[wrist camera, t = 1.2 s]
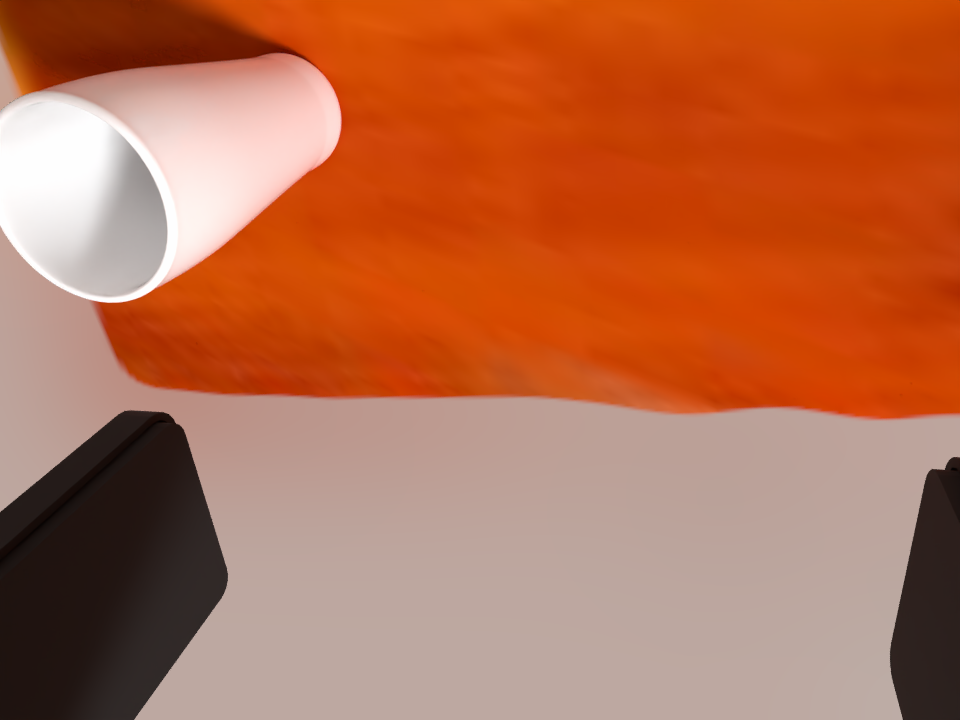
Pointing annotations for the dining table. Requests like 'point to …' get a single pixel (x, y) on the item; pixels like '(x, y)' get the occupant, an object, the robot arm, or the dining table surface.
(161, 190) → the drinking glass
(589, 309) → the dining table surface
